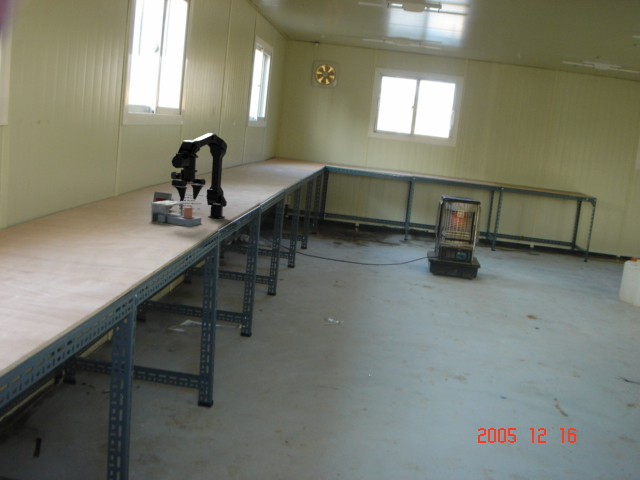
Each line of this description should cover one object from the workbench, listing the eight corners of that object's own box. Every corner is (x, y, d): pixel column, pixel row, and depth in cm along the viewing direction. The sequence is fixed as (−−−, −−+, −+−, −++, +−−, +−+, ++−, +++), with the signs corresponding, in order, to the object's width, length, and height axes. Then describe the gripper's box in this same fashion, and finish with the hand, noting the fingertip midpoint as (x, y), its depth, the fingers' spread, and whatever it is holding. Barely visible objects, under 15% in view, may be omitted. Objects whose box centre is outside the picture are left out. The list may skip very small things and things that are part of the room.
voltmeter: (151, 211, 308) (152, 193, 306) (151, 208, 319) (152, 190, 317) (203, 213, 315) (203, 195, 313) (201, 210, 326) (201, 192, 324)
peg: (187, 222, 284) (187, 206, 282) (193, 224, 282) (194, 207, 280) (181, 223, 280) (182, 207, 278) (188, 225, 278) (189, 208, 277)
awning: (168, 217, 294) (168, 200, 292) (183, 220, 290) (183, 202, 288) (150, 220, 283) (151, 202, 281) (166, 223, 279) (166, 204, 277)
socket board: (171, 218, 291) (171, 212, 291) (201, 223, 284) (201, 217, 283) (158, 221, 282) (158, 215, 282) (187, 226, 275) (188, 220, 274)
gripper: (188, 165, 287) (187, 196, 290) (162, 166, 271) (161, 199, 274) (206, 167, 283) (205, 199, 286) (181, 168, 266) (180, 202, 269)
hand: (188, 200), depth 279 cm, fingers open, 9 cm apart
